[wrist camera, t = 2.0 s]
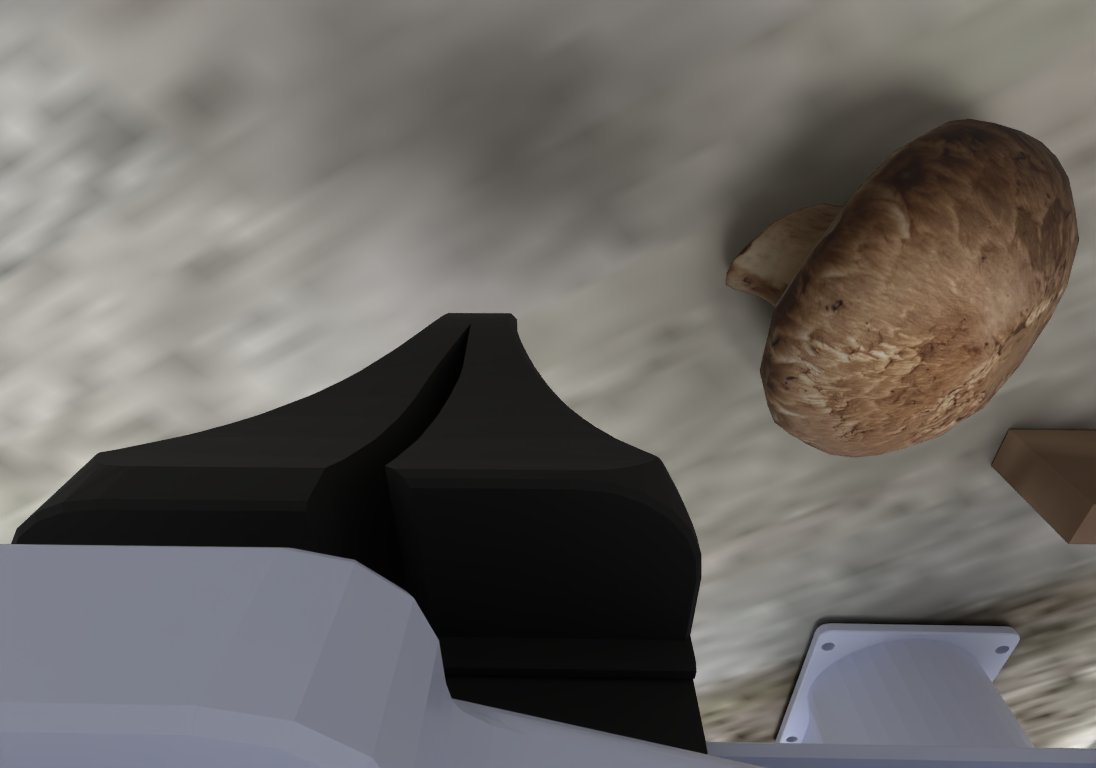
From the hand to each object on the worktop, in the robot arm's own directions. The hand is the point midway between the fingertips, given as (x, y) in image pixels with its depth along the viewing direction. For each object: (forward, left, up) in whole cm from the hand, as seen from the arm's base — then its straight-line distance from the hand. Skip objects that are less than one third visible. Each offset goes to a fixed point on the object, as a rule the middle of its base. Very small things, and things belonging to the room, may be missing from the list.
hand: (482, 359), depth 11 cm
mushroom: (0, -10, -6) cm, 11 cm away
